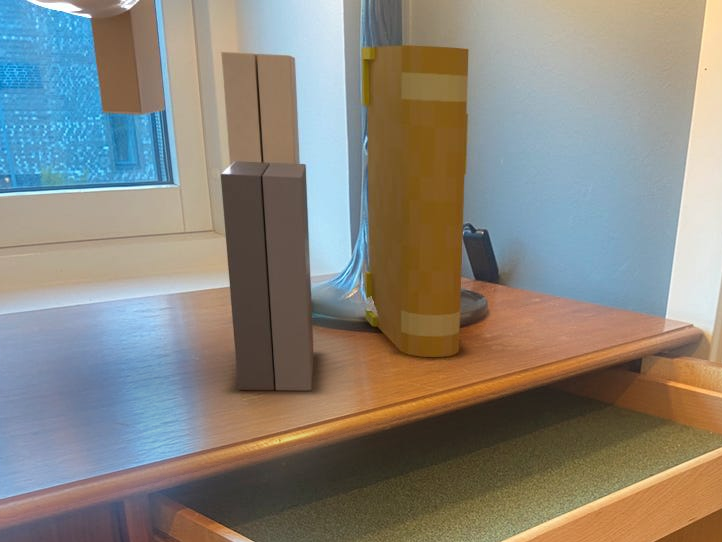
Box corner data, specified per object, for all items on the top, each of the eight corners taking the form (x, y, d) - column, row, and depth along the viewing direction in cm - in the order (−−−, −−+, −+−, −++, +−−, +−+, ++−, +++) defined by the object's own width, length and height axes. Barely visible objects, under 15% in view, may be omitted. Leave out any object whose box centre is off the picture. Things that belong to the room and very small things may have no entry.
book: (365, 318, 103) (361, 47, 91) (425, 317, 105) (429, 51, 93) (401, 358, 90) (402, 44, 77) (470, 355, 91) (482, 49, 79)
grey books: (238, 390, 78) (220, 173, 70) (249, 353, 88) (234, 161, 80) (311, 390, 79) (301, 176, 71) (313, 354, 89) (305, 164, 81)
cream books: (242, 322, 99) (221, 51, 87) (251, 295, 111) (234, 54, 99) (302, 323, 100) (290, 55, 88) (305, 296, 112) (295, 57, 100)
